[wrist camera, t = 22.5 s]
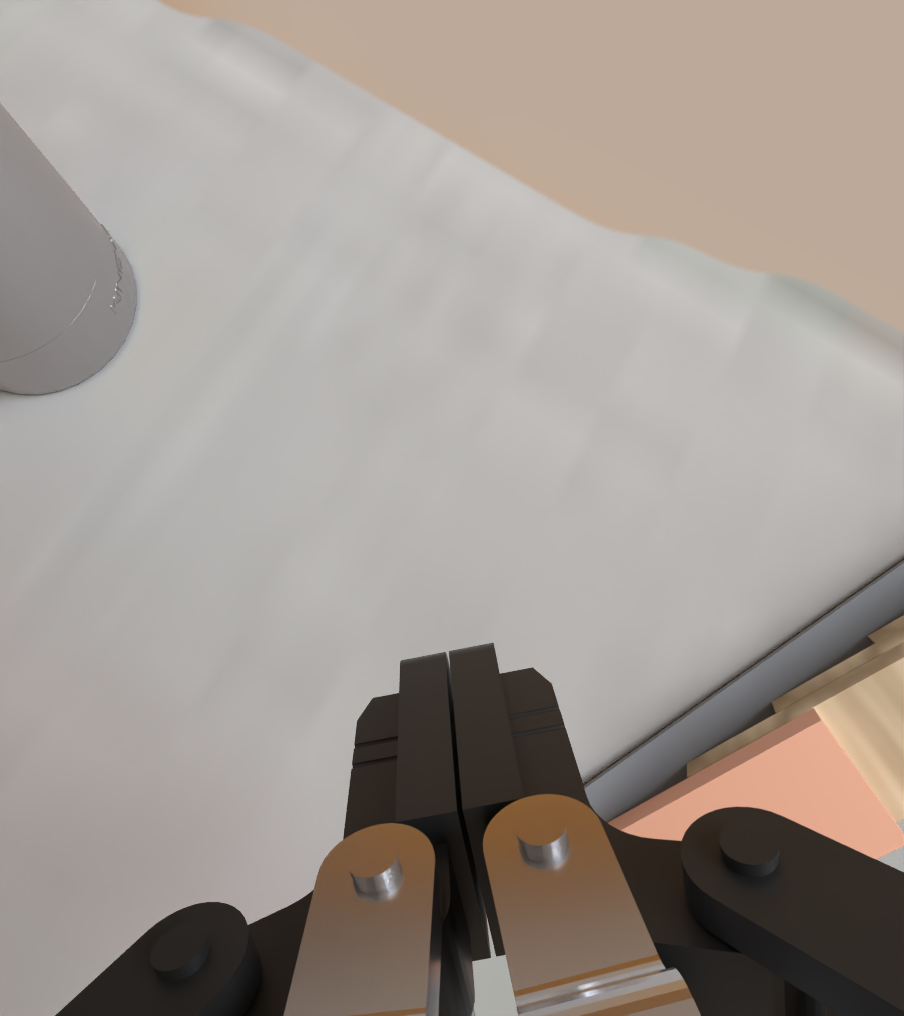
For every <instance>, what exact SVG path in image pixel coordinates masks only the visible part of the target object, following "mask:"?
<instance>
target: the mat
mask: <svg viewBox="0 0 904 1016" xmlns="http://www.w3.org/2000/svg"><path fill="white" fill-rule="evenodd" d="M903 615H904V560H903V561H901V562H900V563H898V564H897V565H896V566H894V567H893V568H891V569H890V570H888V571H887V572H886V573H884V574H883V575H881V576H880V577H879V578H877V579H876V580H874V581H873V582H871V583H870V584H869V585H867V586H866V587H864V588H863V589H862V590H860V591H859V592H857V593H856V594H854V595H853V596H852V597H850V598H849V599H847V600H846V601H845V602H843V603H842V604H840V605H839V606H837V607H836V608H835V609H833V610H832V611H830V612H829V613H828V614H826V615H825V616H823V617H822V618H820V619H819V620H818V621H816V622H815V623H813V624H812V625H811V626H809V627H808V628H806V629H805V630H803V631H802V632H801V633H799V634H798V635H796V636H795V637H794V638H792V639H791V640H789V641H788V642H786V643H785V644H784V645H782V646H781V647H779V648H778V649H777V650H775V651H774V652H772V653H771V654H769V655H768V656H767V657H765V658H764V659H762V660H761V661H760V662H758V663H757V664H755V665H754V666H752V667H751V668H750V669H748V670H747V671H745V672H744V673H743V674H741V675H740V676H738V677H737V678H735V679H734V680H733V681H731V682H730V683H728V684H727V685H726V686H724V687H723V688H721V689H720V690H718V691H717V692H716V693H714V694H713V695H711V696H710V697H709V698H707V699H706V700H704V701H703V702H701V703H700V704H699V705H697V706H696V707H694V708H693V709H692V710H690V711H689V712H687V713H686V714H684V715H683V716H682V717H680V718H679V719H677V720H676V721H675V722H673V723H672V724H670V725H669V726H667V727H666V728H665V729H663V730H662V731H660V732H659V733H658V734H656V735H655V736H653V737H652V738H650V739H649V740H648V741H646V742H645V743H643V744H642V745H641V746H639V747H638V748H636V749H635V750H633V751H632V752H631V753H629V754H628V755H626V756H625V757H624V758H622V759H621V760H619V761H618V762H616V763H615V764H614V765H612V766H611V767H609V768H608V769H607V770H605V771H604V772H602V773H601V774H599V775H598V776H597V777H595V778H594V779H592V780H591V781H590V782H588V783H587V784H585V785H584V789H585V792H586V795H587V798H588V800H589V803H590V805H591V806H592V808H593V809H594V811H595V812H596V813H597V814H598V815H599V816H600V817H601V818H602V819H603V820H604V821H606V822H607V823H608V822H610V821H612V820H613V819H615V818H617V817H619V816H621V815H622V814H624V813H626V812H628V811H630V810H631V809H633V808H635V807H637V806H639V805H640V804H642V803H644V802H646V801H648V800H649V799H651V798H653V797H655V796H657V795H658V794H660V793H662V792H664V791H666V790H667V789H669V788H671V787H673V786H675V785H676V784H678V783H680V782H682V781H684V780H685V779H687V763H688V762H690V761H691V760H693V759H695V758H697V757H699V756H700V755H702V754H704V753H706V752H708V751H709V750H711V749H713V748H715V747H717V746H718V745H720V744H722V743H724V742H726V741H727V740H729V739H731V738H733V737H735V736H736V735H738V734H740V733H742V732H744V731H745V730H747V729H749V728H751V727H753V726H754V725H756V724H758V723H760V722H762V721H763V720H765V719H767V718H769V717H771V716H772V715H774V714H776V712H775V710H774V707H773V705H772V702H771V701H773V700H775V699H777V698H779V697H780V696H782V695H784V694H786V693H788V692H789V691H791V690H793V689H795V688H796V687H798V686H800V685H802V684H804V683H805V682H807V681H809V680H811V679H812V678H814V677H816V676H818V675H820V674H821V673H823V672H825V671H827V670H829V669H830V668H832V667H834V666H836V665H837V664H839V663H841V662H843V661H845V660H846V659H848V658H850V657H852V656H854V655H855V654H857V653H859V652H861V651H862V650H864V649H866V648H868V647H870V646H871V645H873V643H872V641H871V640H870V639H869V638H868V635H870V634H872V633H874V632H875V631H877V630H879V629H881V628H882V627H884V626H886V625H888V624H889V623H891V622H893V621H894V620H896V619H898V618H900V617H901V616H903Z"/></svg>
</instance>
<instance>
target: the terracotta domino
mask: <svg viewBox="0 0 904 1016" xmlns="http://www.w3.org/2000/svg"><path fill="white" fill-rule="evenodd" d="M727 807H752V808H759V809H763V810H767V811H771V812H774V813H776V814H779V815H781V816H783V817H786V818H788V819H790V820H792V821H794V822H796V823H799V824H801V825H803V826H805V827H807V828H809V829H811V830H814V831H816V832H818V833H820V834H822V835H824V836H826V837H829V838H831V839H833V840H835V841H837V842H839V843H841V844H844V845H846V846H848V847H850V848H852V849H854V850H856V851H859V852H861V853H863V854H865V855H867V856H869V857H871V858H874V859H878V858H880V857H882V856H884V855H886V854H888V853H890V852H892V851H894V850H896V849H898V848H900V847H902V846H904V833H903V832H902V830H901V829H900V827H899V826H898V824H897V823H896V821H895V820H894V818H893V817H892V816H891V814H890V813H889V812H888V810H887V809H886V807H885V806H884V805H883V803H882V802H881V800H880V799H879V798H878V796H877V795H876V794H875V792H874V791H873V789H872V788H871V787H870V785H869V784H868V782H867V781H866V780H865V778H864V777H863V775H862V774H861V773H860V771H859V770H858V769H857V767H856V766H855V764H854V763H853V762H852V760H851V759H850V757H849V756H848V755H847V753H846V752H845V751H844V749H843V748H842V746H841V745H840V744H839V742H838V741H837V739H836V738H835V737H834V735H833V734H832V733H831V731H830V730H829V728H828V727H827V726H826V724H825V723H824V721H823V720H822V719H821V717H820V716H819V715H818V713H817V712H816V710H815V709H814V708H813V709H811V710H810V711H808V712H806V713H804V714H802V715H801V716H799V717H797V718H795V719H793V720H792V721H790V722H788V723H786V724H784V725H783V726H781V727H779V728H777V729H775V730H774V731H772V732H770V733H768V734H766V735H765V736H763V737H761V738H759V739H757V740H756V741H754V742H752V743H750V744H748V745H747V746H745V747H743V748H741V749H739V750H738V751H736V752H734V753H732V754H730V755H729V756H727V757H725V758H723V759H721V760H720V761H718V762H716V763H714V764H712V765H711V766H709V767H707V768H705V769H703V770H702V771H700V772H698V773H696V774H694V775H693V776H691V777H689V778H687V779H685V780H684V781H682V782H680V783H678V784H676V785H675V786H673V787H671V788H669V789H667V790H666V791H664V792H662V793H660V794H658V795H657V796H655V797H653V798H651V799H649V800H648V801H646V802H644V803H642V804H640V805H639V806H637V807H635V808H633V809H631V810H630V811H628V812H626V813H624V814H622V815H621V816H619V817H617V818H615V819H613V820H612V821H610V822H608V824H610V825H611V826H613V827H615V828H617V829H619V830H621V831H623V832H626V833H628V834H632V835H636V836H639V837H645V838H652V839H664V840H676V841H682V838H683V836H684V834H685V832H686V830H687V829H688V828H689V826H690V825H691V824H692V823H693V822H694V821H696V820H697V819H698V818H699V817H701V816H703V815H705V814H706V813H709V812H712V811H714V810H718V809H722V808H727Z"/></svg>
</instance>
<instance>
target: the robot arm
mask: <svg viewBox="0 0 904 1016" xmlns="http://www.w3.org/2000/svg"><path fill="white" fill-rule="evenodd" d="M136 305H137V295H136V283H135V279H134V275H133V271H132V267H131V266H130V264H129V262H128V260H127V258H126V256H125V254H124V252H123V251H122V250H121V249H120V247H119V246H118V245H117V244H116V243H115V241H114V240H113V239H112V237H111V236H110V234H109V233H108V231H107V230H106V229H105V227H104V226H103V225H102V224H100V223H99V222H98V221H97V219H96V218H95V217H94V216H93V215H92V213H91V212H90V211H89V210H88V208H87V207H86V206H85V205H84V204H83V202H82V201H81V200H80V198H79V197H78V196H77V195H76V193H75V192H74V191H73V190H72V189H71V187H70V186H69V185H68V184H67V183H66V181H65V180H64V179H63V178H62V177H61V175H60V174H59V173H58V172H57V171H56V169H55V168H54V167H53V166H52V165H51V163H50V162H49V161H48V160H47V159H46V157H45V156H44V155H43V154H42V153H41V151H40V150H39V149H38V148H37V146H36V145H35V144H34V143H33V142H32V140H31V139H30V138H29V137H28V136H27V134H26V133H25V132H24V131H23V130H22V128H21V127H20V126H19V125H18V124H17V122H16V121H15V120H14V119H13V118H12V116H11V115H10V114H9V113H8V112H7V110H6V109H5V108H4V107H3V106H2V104H1V103H0V390H4V391H8V392H12V393H17V394H45V393H50V392H56V391H61V390H63V389H66V388H68V387H71V386H74V385H76V384H79V383H81V382H82V381H84V380H86V379H87V378H89V377H90V376H92V375H94V374H95V373H97V372H98V371H99V370H100V369H101V368H102V367H103V366H105V365H106V364H107V363H108V362H109V361H110V360H111V359H112V358H113V357H114V355H115V354H116V353H117V351H118V350H119V348H120V347H121V346H122V344H123V343H124V342H125V339H126V337H127V335H128V333H129V330H130V328H131V326H132V324H133V320H134V315H135V310H136ZM449 658H450V666H449V662H448V658H447V654H446V652H443V653H438V654H433V655H428V656H422V657H417V658H412V659H407V660H401V662H400V687H399V693H397V694H392V695H387V696H382V697H376V698H373V699H372V700H371V702H370V703H369V704H368V706H367V707H366V709H365V710H364V712H363V713H362V715H361V716H360V718H359V719H358V721H357V728H356V736H355V749H354V753H353V761H352V765H353V769H352V770H351V778H350V787H349V795H348V804H347V812H346V821H345V829H344V838H343V841H341V842H340V843H339V844H337V845H336V846H335V847H334V848H333V849H332V850H331V851H330V853H329V854H328V855H327V857H326V858H325V859H324V861H323V863H322V865H321V867H320V869H319V872H318V875H317V879H316V883H315V887H314V890H313V891H312V892H310V893H309V894H308V895H306V896H305V897H303V898H302V899H300V900H299V901H297V902H295V903H293V904H292V905H290V906H288V907H286V908H284V909H281V910H279V911H277V912H275V913H273V914H271V915H269V916H267V917H264V918H262V919H260V920H258V921H256V922H254V923H252V924H249V925H247V922H246V920H245V917H244V916H243V915H242V913H241V912H240V911H239V910H237V909H236V908H235V907H233V906H231V905H228V904H225V903H220V902H206V903H199V904H195V905H192V906H188V907H186V908H183V909H181V910H179V911H176V912H175V913H173V914H171V915H169V916H167V917H166V918H164V919H163V920H161V921H160V922H158V923H157V924H155V925H154V926H153V927H152V928H151V929H149V930H148V931H147V932H146V933H145V934H144V935H143V936H142V937H140V938H139V939H138V940H137V941H136V942H135V943H134V944H133V945H132V946H131V947H130V948H128V949H127V950H126V951H125V952H124V953H123V954H122V955H121V956H120V957H119V958H118V959H116V960H115V961H114V962H113V963H112V964H111V965H110V966H109V967H108V968H107V969H106V970H105V971H103V972H102V973H101V974H100V975H99V976H98V977H97V978H96V979H95V980H94V981H93V982H91V983H90V984H89V985H88V986H87V987H86V988H85V989H84V990H83V991H82V992H81V993H79V994H78V995H77V996H76V997H75V998H74V999H73V1000H72V1001H71V1002H70V1003H69V1004H67V1005H66V1006H65V1007H64V1008H63V1009H62V1010H61V1011H60V1012H59V1013H58V1014H57V1015H55V1016H475V1012H474V1008H473V1007H474V1002H475V991H474V979H473V967H472V961H476V960H481V959H487V958H491V953H490V944H489V935H488V926H487V918H488V923H489V927H490V931H491V936H492V940H493V945H494V949H495V953H496V956H501V955H506V959H507V963H508V968H509V973H510V977H511V982H512V987H513V991H514V996H515V1001H516V1005H517V1011H518V1016H904V872H902V871H899V870H897V869H895V868H893V867H891V866H889V865H886V864H884V863H882V862H880V861H878V860H876V859H874V858H871V857H869V856H867V855H865V854H863V853H861V852H859V851H856V850H854V849H852V848H850V847H848V846H846V845H844V844H841V843H839V842H837V841H835V840H833V839H831V838H829V837H826V836H824V835H822V834H820V833H818V832H816V831H814V830H811V829H809V828H807V827H805V826H803V825H801V824H799V823H796V822H794V821H792V820H790V819H788V818H786V817H783V816H781V815H779V814H776V813H774V812H771V811H767V810H763V809H759V808H752V807H727V808H722V809H718V810H714V811H712V812H709V813H706V814H705V815H703V816H701V817H699V818H698V819H697V820H696V821H694V822H693V823H692V824H691V825H690V826H689V828H688V829H687V830H686V832H685V834H684V836H683V838H682V841H676V840H664V839H652V838H645V837H639V836H636V835H632V834H628V833H626V832H623V831H621V830H619V829H617V828H615V827H613V826H611V825H610V824H608V823H607V822H606V821H604V820H603V819H602V818H601V817H600V816H599V815H598V814H597V813H596V812H595V811H594V809H593V808H592V806H591V805H590V803H589V800H588V798H587V795H586V792H585V789H584V786H583V782H582V779H581V776H580V773H579V770H578V767H577V763H576V760H575V757H574V754H573V751H572V747H571V744H570V741H569V738H568V735H567V731H566V728H565V726H564V722H563V719H562V715H561V712H560V710H559V706H558V703H557V699H556V696H555V693H554V690H553V687H552V684H551V683H550V682H549V681H548V680H547V679H545V678H544V677H543V676H542V675H541V674H539V673H538V672H537V671H536V670H535V669H534V668H528V669H523V670H517V671H512V672H507V673H502V674H500V673H499V668H498V663H497V658H496V653H495V648H494V643H490V644H484V645H479V646H474V647H469V648H463V649H458V650H453V651H449ZM450 670H451V671H450ZM486 914H487V916H486Z"/></svg>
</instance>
